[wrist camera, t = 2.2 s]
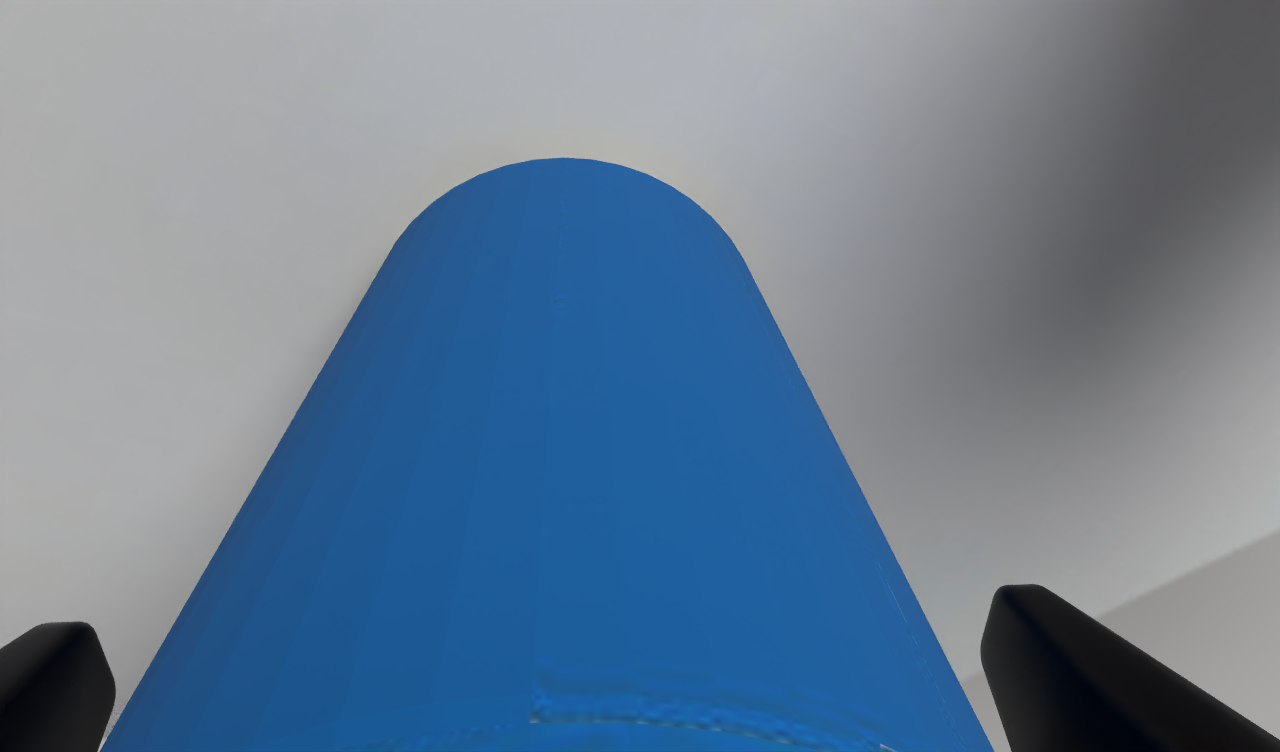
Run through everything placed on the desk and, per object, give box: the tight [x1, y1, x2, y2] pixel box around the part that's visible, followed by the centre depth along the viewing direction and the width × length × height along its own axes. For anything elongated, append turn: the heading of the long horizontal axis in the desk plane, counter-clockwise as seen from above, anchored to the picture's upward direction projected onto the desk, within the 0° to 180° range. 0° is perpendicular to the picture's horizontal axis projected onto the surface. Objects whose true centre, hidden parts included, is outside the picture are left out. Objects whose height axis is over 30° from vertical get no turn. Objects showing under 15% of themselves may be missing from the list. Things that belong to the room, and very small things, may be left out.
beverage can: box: [100, 158, 994, 752], centre depth 9 cm, size 6×6×12 cm
